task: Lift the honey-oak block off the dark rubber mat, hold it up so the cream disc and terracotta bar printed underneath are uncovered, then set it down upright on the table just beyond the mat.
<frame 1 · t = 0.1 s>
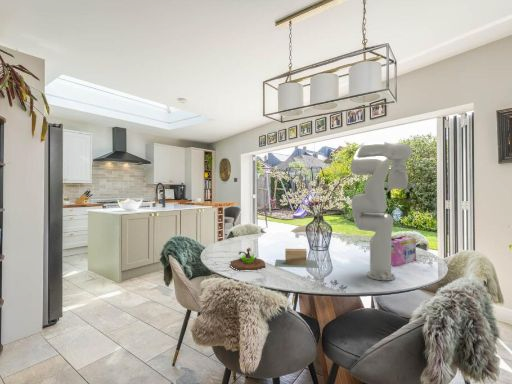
hand: (398, 198, 159), 37 cm above the table, tool pointing down, fingers open, 9 cm apart
oak block: (295, 263, 159), resting on code mat
code mat: (295, 263, 159), on the table
gum box: (399, 262, 161), on the table
plant: (248, 267, 155), on the table
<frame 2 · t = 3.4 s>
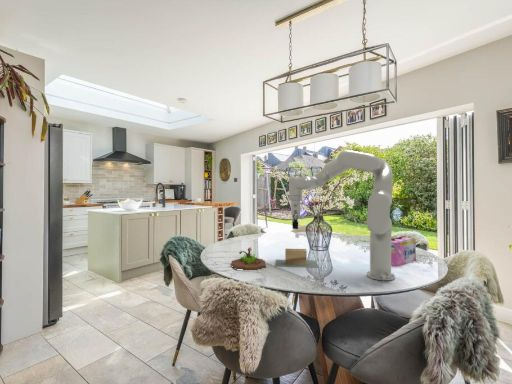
hand: (295, 227, 159), 21 cm above the table, tool pointing down, fingers open, 9 cm apart
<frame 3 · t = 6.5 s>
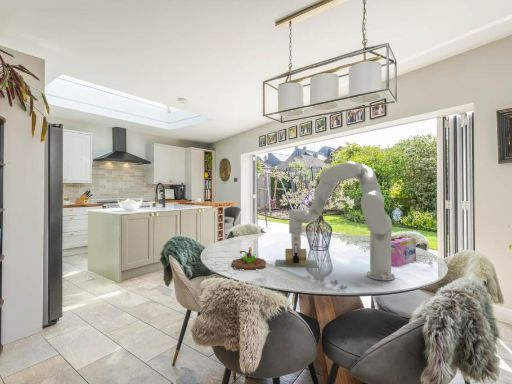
hand: (295, 261, 159), 1 cm above the table, tool pointing down, fingers closed on oak block, 5 cm apart
oak block: (295, 263, 159), resting on code mat, touching gripper
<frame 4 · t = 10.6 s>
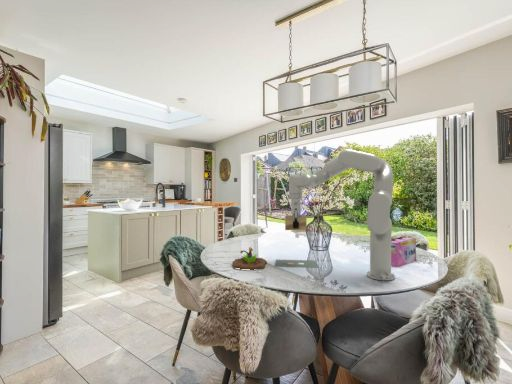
hand: (295, 227, 158), 21 cm above the table, tool pointing down, fingers closed on oak block, 5 cm apart
oak block: (295, 229, 158), point 20 cm above the table, touching gripper
when the fingers open (3 cm above the table, at t = 14.7 s): oak block drops 2 cm, on the table.
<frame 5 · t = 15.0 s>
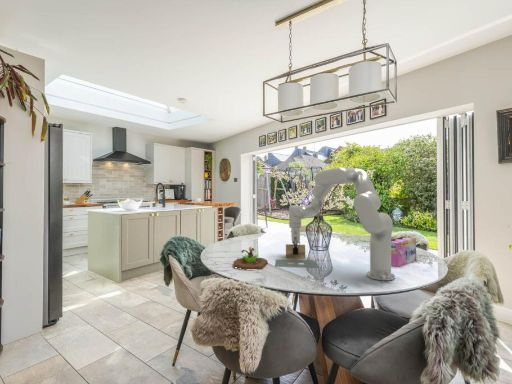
hand: (295, 252, 173), 3 cm above the table, tool pointing down, fingers open, 7 cm apart
oak block: (295, 257, 173), on the table
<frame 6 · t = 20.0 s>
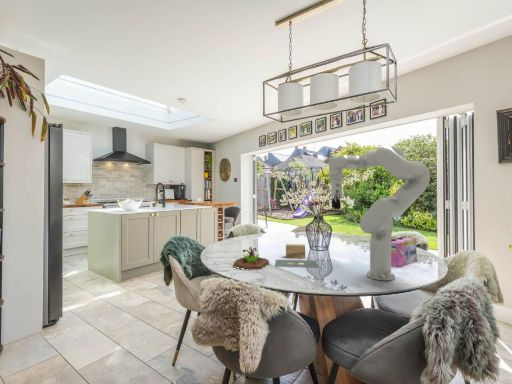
hand: (336, 208, 156), 32 cm above the table, tool pointing down, fingers open, 9 cm apart
at the end: oak block inside the target area (0.1 cm from its centre), on the table; oak block tilted 0°; oak block touching table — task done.
